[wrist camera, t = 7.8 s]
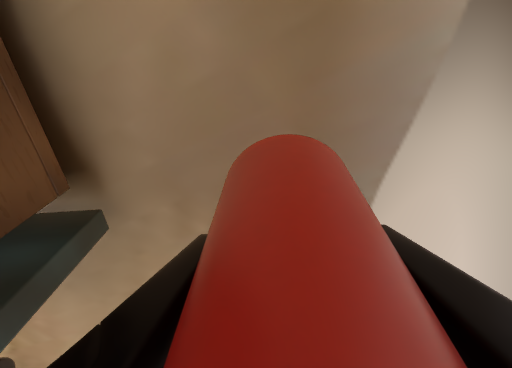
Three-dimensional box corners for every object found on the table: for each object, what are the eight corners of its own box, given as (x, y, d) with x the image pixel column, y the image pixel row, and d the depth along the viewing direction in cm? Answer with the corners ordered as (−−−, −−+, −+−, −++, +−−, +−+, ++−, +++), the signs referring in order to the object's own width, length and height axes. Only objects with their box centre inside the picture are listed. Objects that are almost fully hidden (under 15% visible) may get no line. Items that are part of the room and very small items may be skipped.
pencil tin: (348, 241, 10) (528, 701, 3) (232, 247, 11) (153, 669, 3) (355, 126, 8) (878, 643, 1) (213, 138, 9) (-54, 580, 2)
